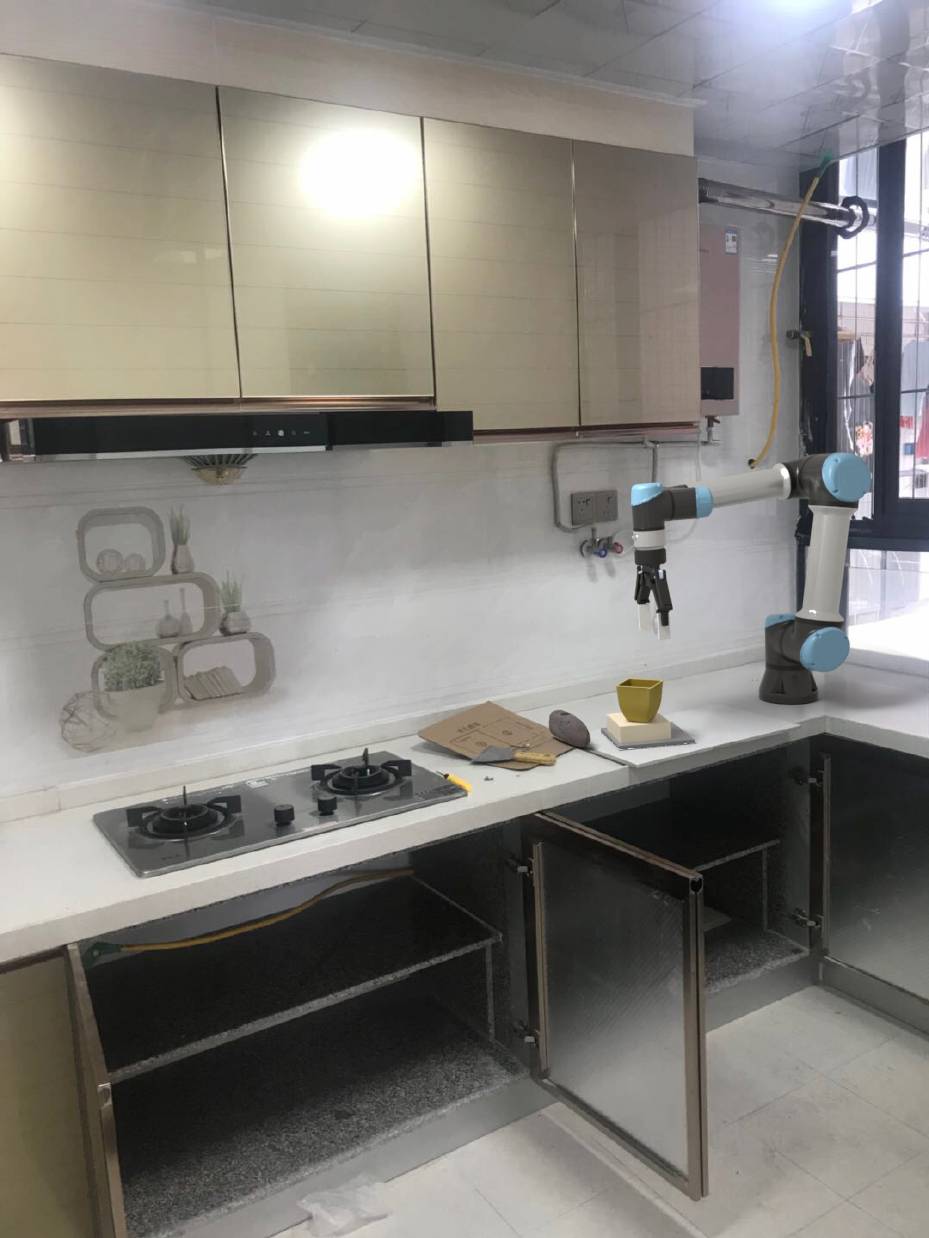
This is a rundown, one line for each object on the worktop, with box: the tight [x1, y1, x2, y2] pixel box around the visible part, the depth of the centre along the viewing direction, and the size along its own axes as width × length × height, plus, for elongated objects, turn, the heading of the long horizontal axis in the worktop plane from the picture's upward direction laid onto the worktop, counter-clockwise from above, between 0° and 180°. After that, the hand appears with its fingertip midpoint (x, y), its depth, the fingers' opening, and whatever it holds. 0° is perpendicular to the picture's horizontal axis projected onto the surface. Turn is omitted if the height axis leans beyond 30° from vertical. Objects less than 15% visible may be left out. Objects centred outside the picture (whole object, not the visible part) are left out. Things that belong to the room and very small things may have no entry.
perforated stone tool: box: [548, 709, 591, 748], centre depth 225 cm, size 15×5×7 cm, turn 23°
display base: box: [600, 712, 696, 749], centre depth 227 cm, size 18×16×5 cm
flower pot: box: [615, 677, 664, 723], centre depth 224 cm, size 9×9×9 cm
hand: (654, 634), depth 232 cm, fingers open, 13 cm apart
